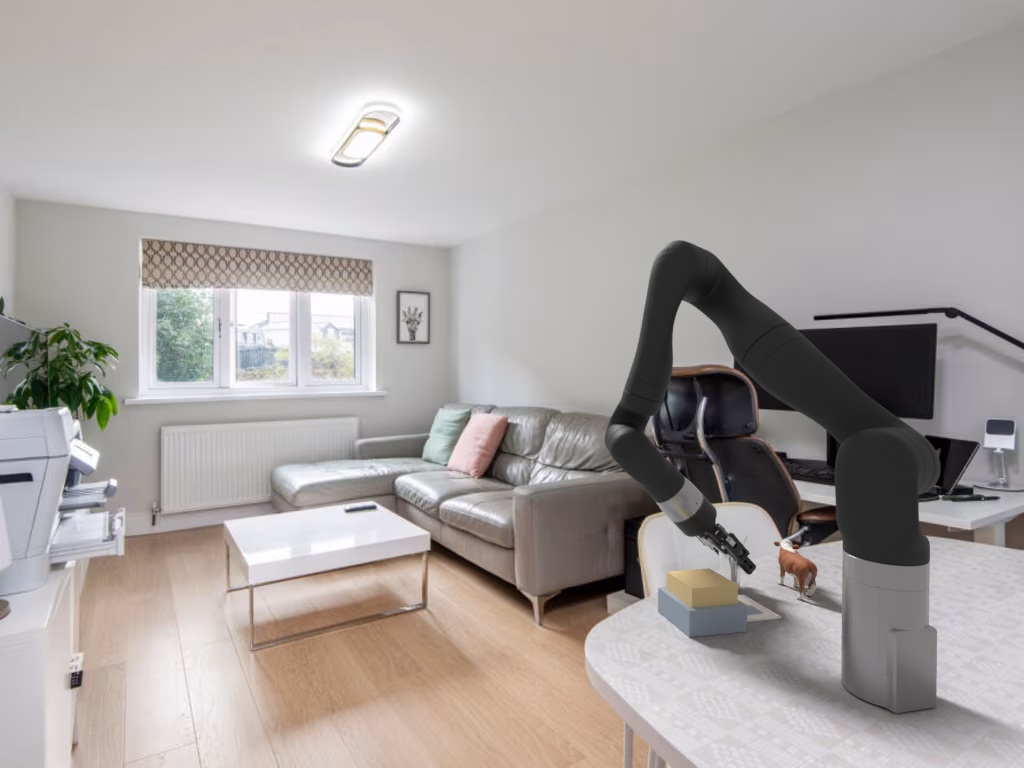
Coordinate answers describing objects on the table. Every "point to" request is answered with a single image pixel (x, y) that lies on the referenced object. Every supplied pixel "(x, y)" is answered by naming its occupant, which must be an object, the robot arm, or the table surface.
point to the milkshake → (730, 568)
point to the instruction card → (757, 610)
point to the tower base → (702, 616)
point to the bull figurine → (796, 568)
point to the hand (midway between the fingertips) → (740, 564)
